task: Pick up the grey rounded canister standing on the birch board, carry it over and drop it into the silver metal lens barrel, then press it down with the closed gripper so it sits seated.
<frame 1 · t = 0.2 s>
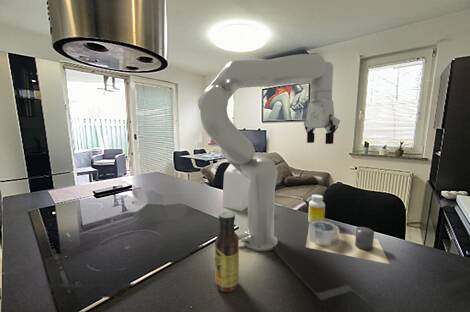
hand: (319, 143, 81), 36 cm above the counter, tool pointing down, fingers open, 9 cm apart
supplement bottle: (316, 224, 93), on the counter
milk: (237, 206, 117), on the counter
lens barrel: (323, 239, 77), resting on birch board
birch board: (342, 246, 75), on the counter
grey rounded canister: (363, 246, 72), point 1 cm above the counter, touching birch board
sauce bottle: (227, 286, 56), on the counter
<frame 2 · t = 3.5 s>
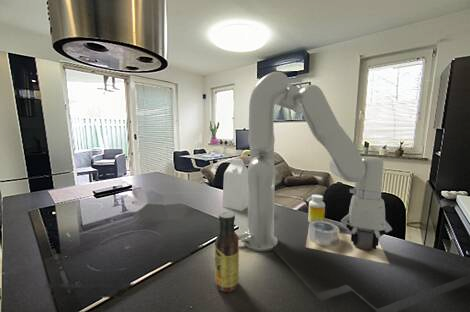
hand: (363, 244, 72), 2 cm above the counter, tool pointing down, fingers closed on grey rounded canister, 5 cm apart
grey rounded canister: (363, 246, 72), point 1 cm above the counter, touching birch board, gripper
everything else where it was.
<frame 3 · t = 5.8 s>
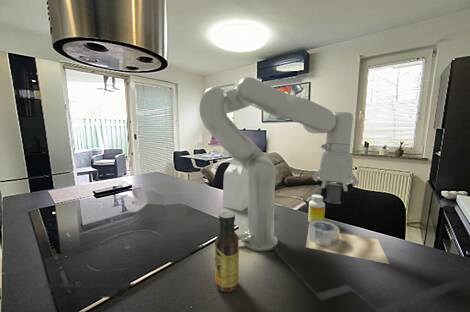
hand: (332, 199, 74), 17 cm above the counter, tool pointing down, fingers closed on grey rounded canister, 5 cm apart
grey rounded canister: (332, 201, 75), point 16 cm above the counter, touching gripper
everything else where it was.
when the fingers open (8 cm above the counter, at t = 8.3 s): grey rounded canister drops 5 cm, resting on lens barrel.
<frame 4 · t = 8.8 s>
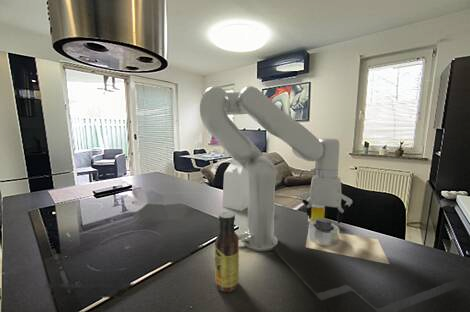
hand: (324, 219, 77), 9 cm above the counter, tool pointing down, fingers open, 9 cm apart
grey rounded canister: (323, 236, 77), point 2 cm above the counter, touching lens barrel
everything else where it was.
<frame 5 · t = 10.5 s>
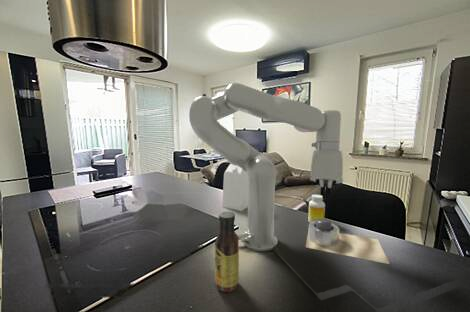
hand: (325, 197, 76), 17 cm above the counter, tool pointing down, fingers closed
nothing on the counter moved.
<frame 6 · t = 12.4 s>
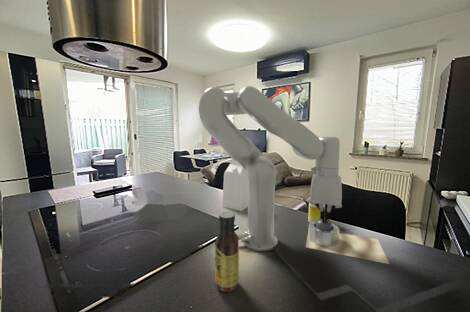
hand: (324, 221, 77), 8 cm above the counter, tool pointing down, fingers closed
grey rounded canister: (323, 236, 77), point 2 cm above the counter, touching gripper, lens barrel
everything else where it was.
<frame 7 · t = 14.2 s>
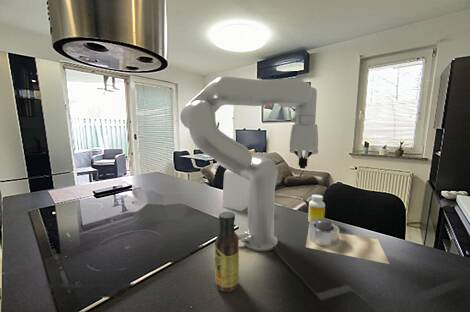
hand: (302, 167, 83), 26 cm above the counter, tool pointing down, fingers closed
grey rounded canister: (323, 236, 77), point 2 cm above the counter, touching lens barrel
everything else where it was.
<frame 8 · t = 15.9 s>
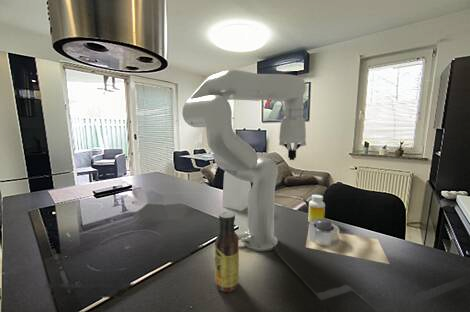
hand: (291, 159, 88), 29 cm above the counter, tool pointing down, fingers closed
nothing on the counter moved.
at the end: grey rounded canister 0.1 cm off-centre on the lens barrel, point 1.0 cm above the lens barrel's base; grey rounded canister tilted 0°; the gripper is holding nothing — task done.
